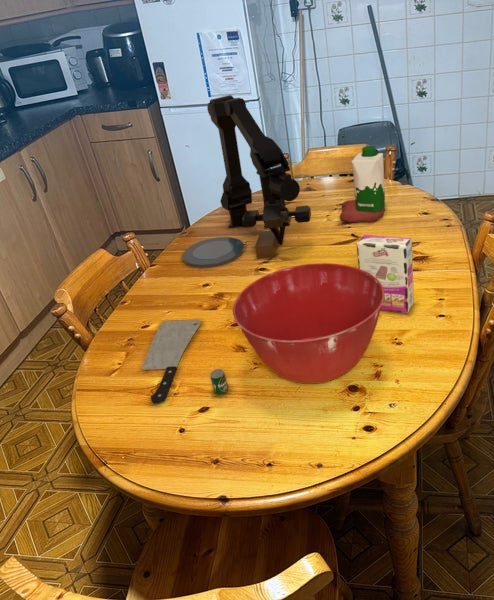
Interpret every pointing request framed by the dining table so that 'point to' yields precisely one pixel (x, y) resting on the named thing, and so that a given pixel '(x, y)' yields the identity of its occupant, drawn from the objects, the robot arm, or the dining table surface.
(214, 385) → the beer can
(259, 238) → the block
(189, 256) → the plate
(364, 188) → the milk carton
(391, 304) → the candy bar box
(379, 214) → the food model
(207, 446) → the dining table surface
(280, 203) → the robot arm
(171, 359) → the cleaver
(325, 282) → the mixing bowl
